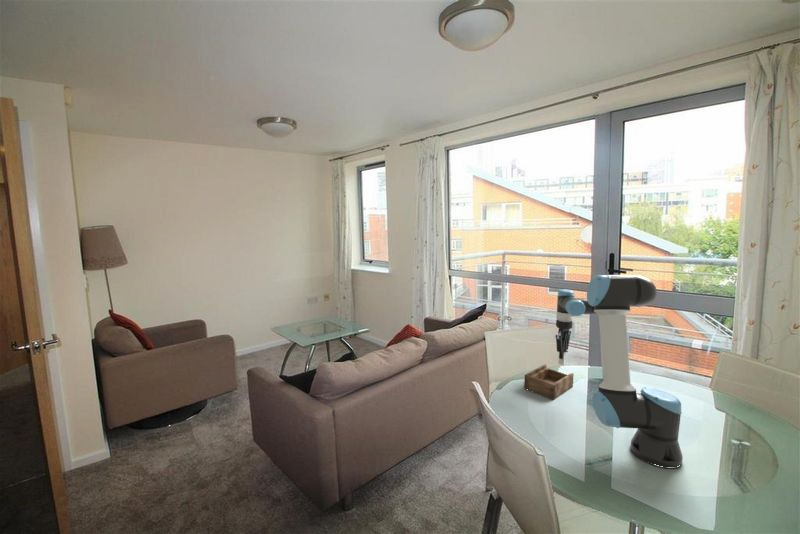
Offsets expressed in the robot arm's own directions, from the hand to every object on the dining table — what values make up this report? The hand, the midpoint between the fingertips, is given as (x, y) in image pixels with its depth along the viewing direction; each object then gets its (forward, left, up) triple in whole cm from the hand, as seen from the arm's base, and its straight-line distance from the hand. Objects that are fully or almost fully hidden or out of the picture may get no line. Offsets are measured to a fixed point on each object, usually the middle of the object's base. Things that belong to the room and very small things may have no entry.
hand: (561, 364), depth 187 cm
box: (-13, 0, -9) cm, 16 cm away
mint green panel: (+6, 0, -9) cm, 11 cm away
